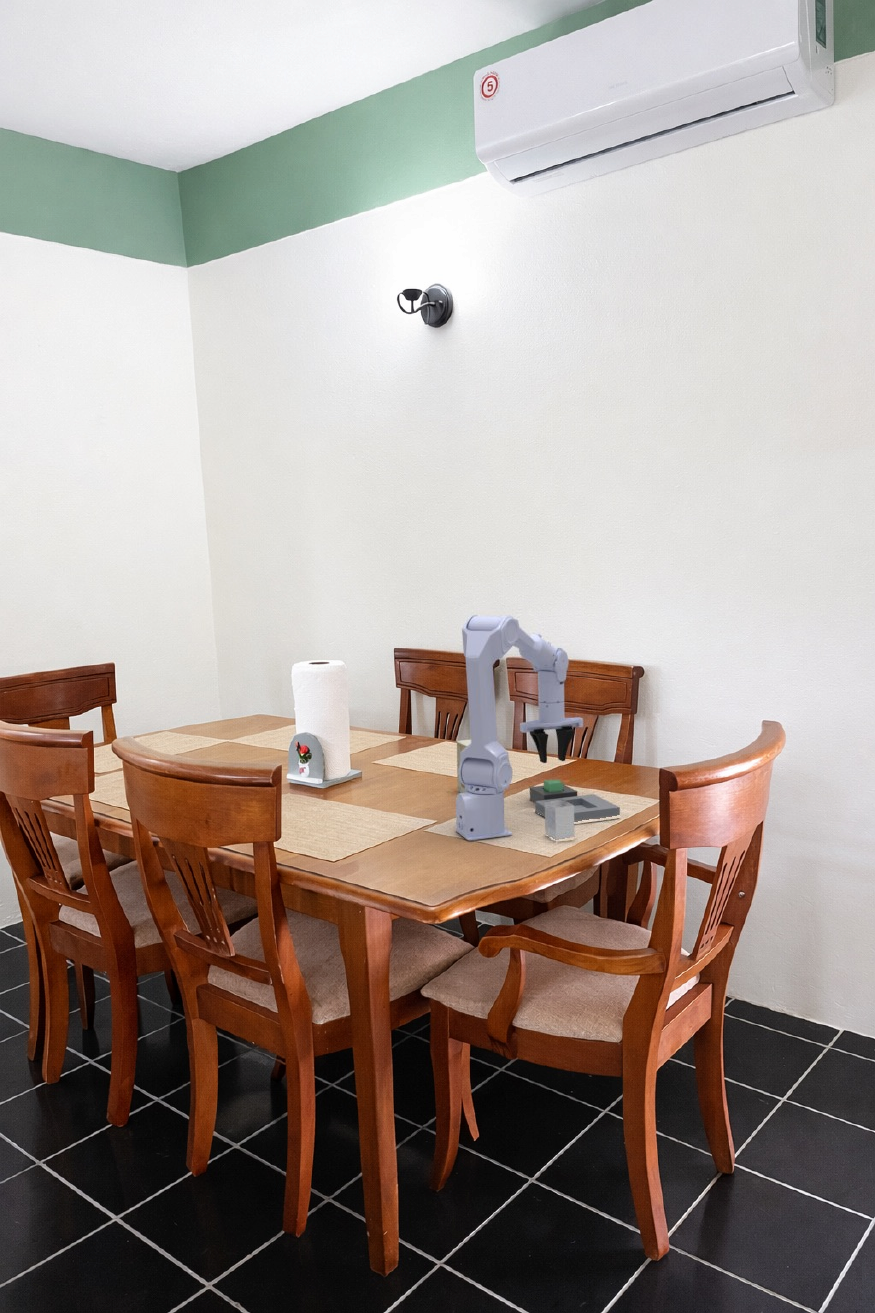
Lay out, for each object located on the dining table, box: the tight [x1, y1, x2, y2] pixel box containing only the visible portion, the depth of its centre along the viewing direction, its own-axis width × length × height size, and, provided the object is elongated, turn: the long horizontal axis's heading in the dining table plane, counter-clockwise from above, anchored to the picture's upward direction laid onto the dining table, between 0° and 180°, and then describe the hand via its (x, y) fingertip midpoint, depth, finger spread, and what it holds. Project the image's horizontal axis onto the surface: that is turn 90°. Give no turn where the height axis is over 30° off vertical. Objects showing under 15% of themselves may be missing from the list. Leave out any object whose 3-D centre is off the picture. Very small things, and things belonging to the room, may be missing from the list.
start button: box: [543, 778, 564, 792], centre depth 223 cm, size 3×3×2 cm
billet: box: [544, 800, 576, 840], centre depth 197 cm, size 4×5×7 cm
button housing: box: [529, 783, 578, 803], centre depth 224 cm, size 8×8×3 cm
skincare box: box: [456, 738, 471, 793], centre depth 234 cm, size 6×4×12 cm
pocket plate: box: [534, 793, 621, 822], centre depth 212 cm, size 14×12×2 cm
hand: (552, 761), depth 223 cm, fingers open, 4 cm apart
